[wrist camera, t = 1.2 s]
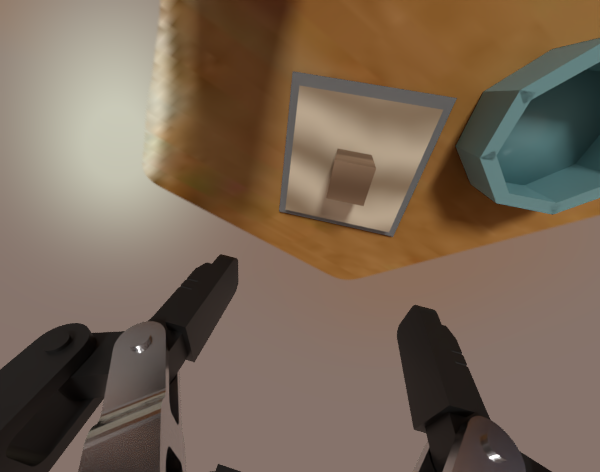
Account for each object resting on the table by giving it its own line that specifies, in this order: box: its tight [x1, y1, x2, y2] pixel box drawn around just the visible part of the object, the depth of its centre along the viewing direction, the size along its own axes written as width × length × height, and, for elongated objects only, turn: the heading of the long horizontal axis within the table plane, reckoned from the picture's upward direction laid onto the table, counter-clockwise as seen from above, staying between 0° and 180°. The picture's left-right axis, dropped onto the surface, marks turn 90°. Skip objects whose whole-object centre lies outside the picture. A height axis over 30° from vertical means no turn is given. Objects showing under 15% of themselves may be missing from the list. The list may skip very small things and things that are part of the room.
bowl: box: [455, 38, 600, 215], centre depth 18 cm, size 11×11×5 cm
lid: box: [285, 85, 443, 232], centre depth 22 cm, size 13×13×6 cm
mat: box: [279, 72, 457, 237], centre depth 24 cm, size 15×15×1 cm
